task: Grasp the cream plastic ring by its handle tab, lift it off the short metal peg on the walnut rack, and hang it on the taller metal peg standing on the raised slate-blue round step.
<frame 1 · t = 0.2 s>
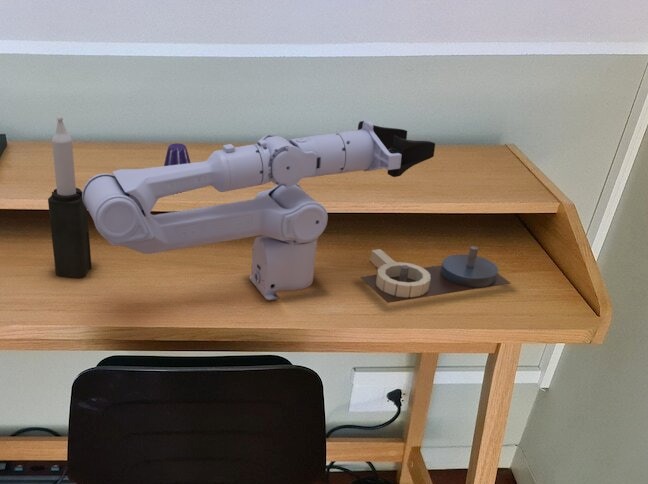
hand: (419, 143, 115), 21 cm above the table, tool horizontal, fingers open, 7 cm apart
rack: (434, 286, 122), on the table
ring: (401, 285, 120), point 1 cm above the table, touching rack
candle: (73, 271, 126), on the table
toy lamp: (178, 239, 137), on the table
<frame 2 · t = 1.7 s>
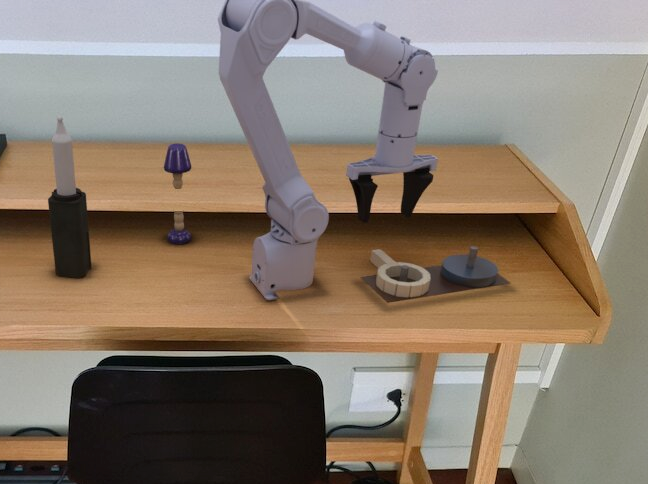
hand: (384, 217, 122), 9 cm above the table, tool pointing down, fingers open, 7 cm apart
nothing on the table moved.
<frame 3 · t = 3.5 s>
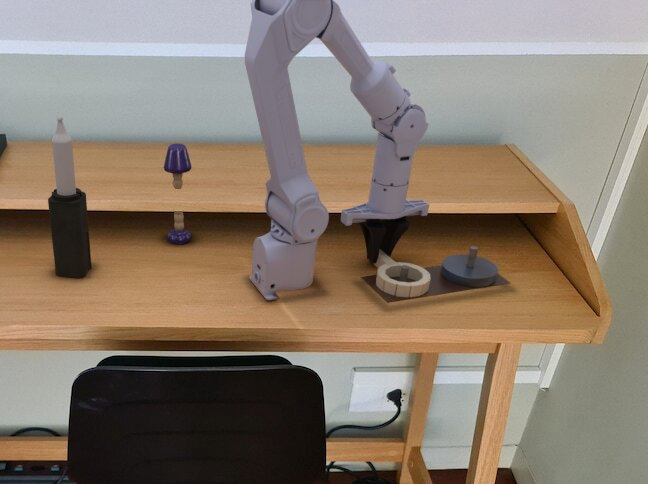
hand: (377, 259, 126), 2 cm above the table, tool pointing down, fingers closed on ring, 1 cm apart
ring: (401, 285, 120), point 1 cm above the table, touching gripper, rack
everything else where it was.
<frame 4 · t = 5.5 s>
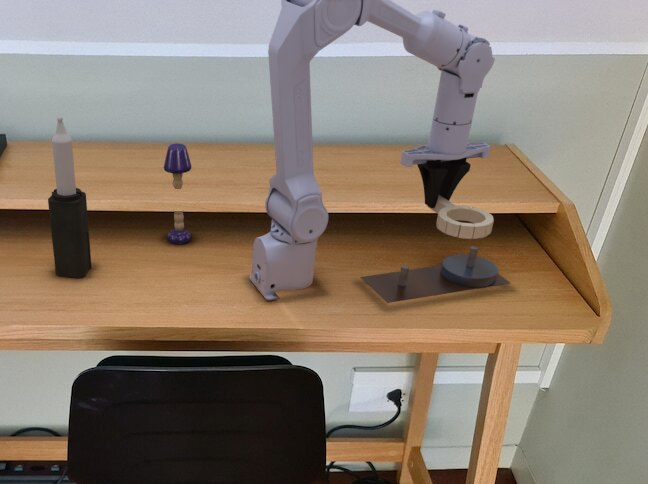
hand: (435, 204, 124), 10 cm above the table, tool pointing down, fingers closed on ring
ring: (463, 227, 118), point 10 cm above the table, touching gripper
everything else where it was.
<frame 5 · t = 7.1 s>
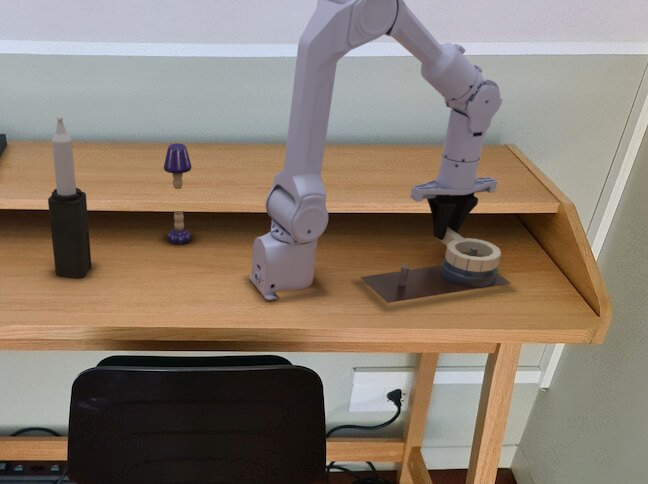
hand: (444, 236, 128), 4 cm above the table, tool pointing down, fingers closed on ring, 1 cm apart
ring: (471, 260, 122), point 4 cm above the table, touching gripper
everything else where it was.
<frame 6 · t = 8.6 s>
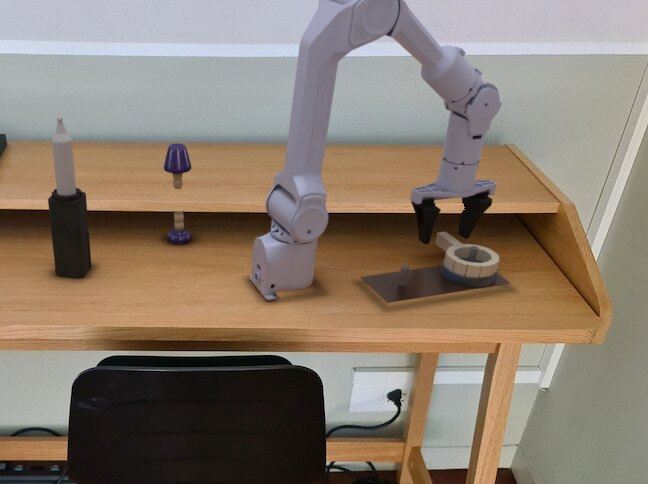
hand: (443, 239, 128), 4 cm above the table, tool pointing down, fingers open, 7 cm apart
ring: (470, 266, 122), point 3 cm above the table, touching rack
everything else where it was.
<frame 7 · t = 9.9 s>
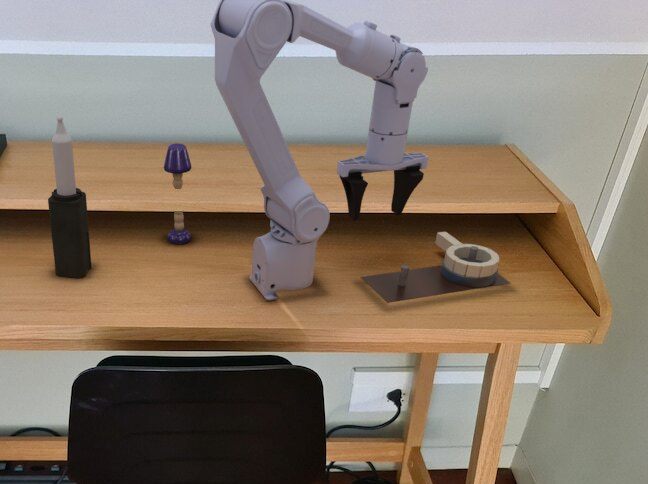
hand: (374, 215, 122), 9 cm above the table, tool pointing down, fingers open, 7 cm apart
nothing on the table moved.
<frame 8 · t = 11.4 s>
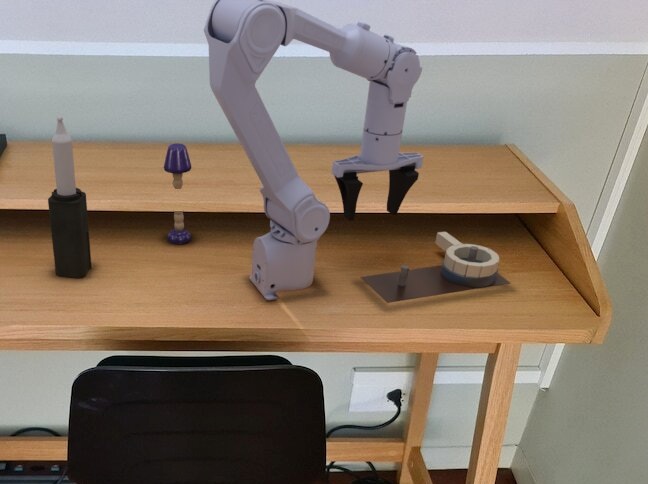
hand: (370, 215, 122), 9 cm above the table, tool pointing down, fingers open, 7 cm apart
nothing on the table moved.
at the end: ring moved 12.1 cm from its start; ring 0.0 cm from the target spot on the rack, point 2.8 cm above the rack's base; ring tilted 0° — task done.
